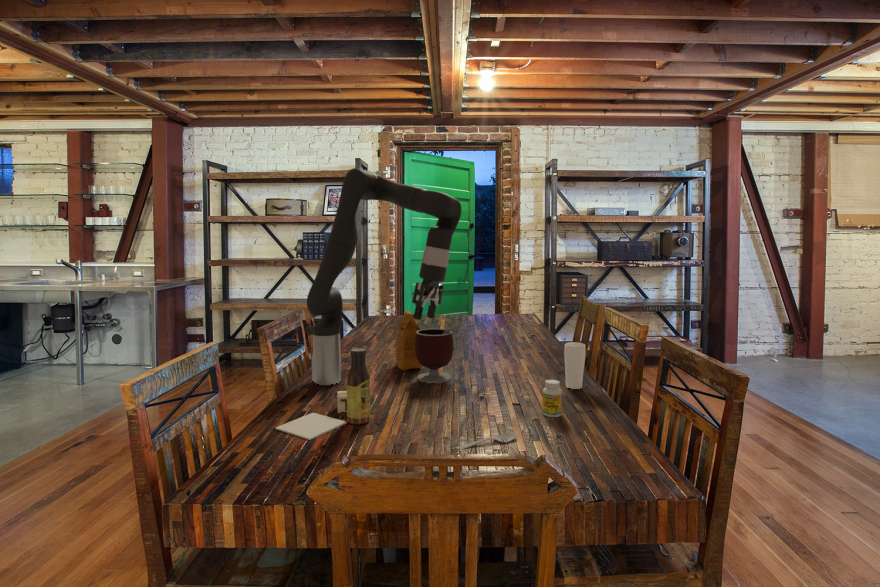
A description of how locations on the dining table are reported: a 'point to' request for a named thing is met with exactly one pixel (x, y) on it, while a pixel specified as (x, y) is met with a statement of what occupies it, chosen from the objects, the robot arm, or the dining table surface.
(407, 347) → the coffee package
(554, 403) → the supplement bottle
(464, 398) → the dining table surface
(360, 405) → the sauce bottle
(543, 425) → the dining table surface
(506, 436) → the spoon
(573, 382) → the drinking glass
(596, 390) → the dining table surface
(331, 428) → the beige mat
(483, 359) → the dining table surface
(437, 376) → the mate gourd
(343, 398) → the letter block
